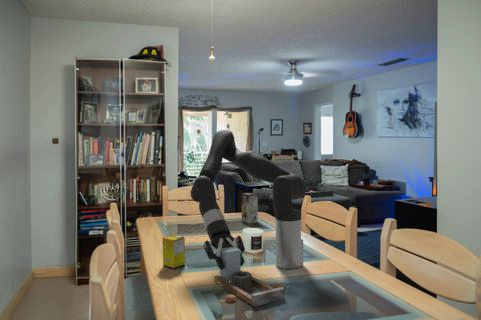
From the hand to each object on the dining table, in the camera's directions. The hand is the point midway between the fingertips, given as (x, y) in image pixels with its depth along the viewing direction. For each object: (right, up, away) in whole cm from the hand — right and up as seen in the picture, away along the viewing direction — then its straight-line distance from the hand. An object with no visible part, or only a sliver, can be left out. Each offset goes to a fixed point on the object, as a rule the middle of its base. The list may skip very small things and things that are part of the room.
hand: (232, 266), depth 129 cm
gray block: (-1, -5, +2) cm, 5 cm away
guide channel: (+4, -5, -7) cm, 10 cm away
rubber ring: (+3, -5, -5) cm, 7 cm away
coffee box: (+8, -1, +97) cm, 97 cm away
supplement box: (-22, -4, +16) cm, 27 cm away
